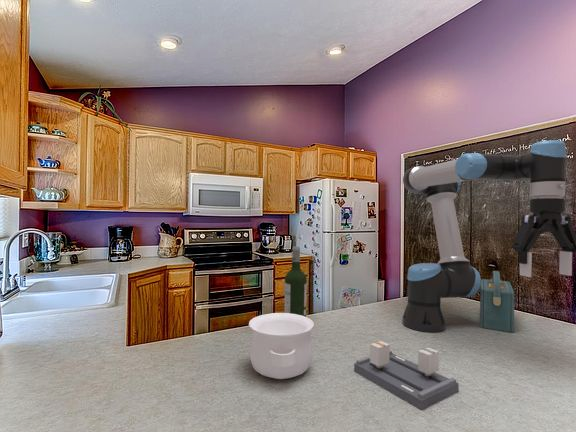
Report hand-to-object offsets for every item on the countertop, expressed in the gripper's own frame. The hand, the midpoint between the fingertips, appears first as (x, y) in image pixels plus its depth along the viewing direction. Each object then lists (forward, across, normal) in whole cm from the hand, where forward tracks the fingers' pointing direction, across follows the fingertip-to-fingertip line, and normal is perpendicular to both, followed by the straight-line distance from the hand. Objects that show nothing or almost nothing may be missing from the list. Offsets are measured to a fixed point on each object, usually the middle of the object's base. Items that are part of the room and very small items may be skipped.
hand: (545, 275), depth 87 cm
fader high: (+23, -38, -2) cm, 44 cm away
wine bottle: (+26, -61, +41) cm, 78 cm away
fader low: (+23, -47, +4) cm, 53 cm away
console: (+25, -42, +1) cm, 49 cm away
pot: (+26, -71, +12) cm, 77 cm away
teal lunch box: (+26, +21, +36) cm, 50 cm away
